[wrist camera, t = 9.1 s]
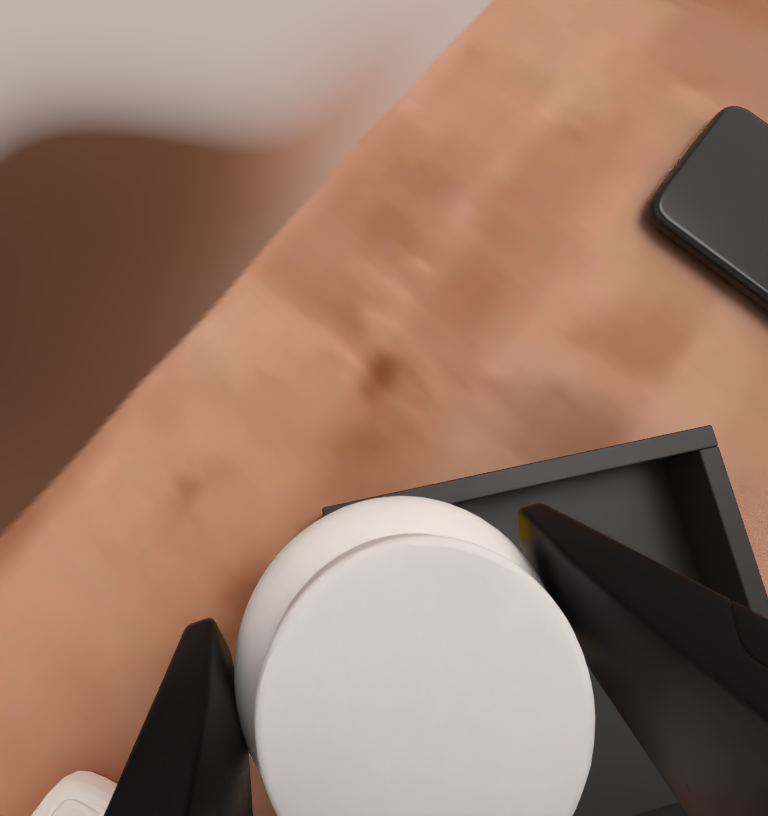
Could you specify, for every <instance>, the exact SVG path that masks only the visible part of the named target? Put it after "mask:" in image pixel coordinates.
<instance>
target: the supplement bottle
mask: <svg viewBox="0 0 768 816" xmlns="http://www.w3.org/2000/svg"><path fill="white" fill-rule="evenodd" d="M234 689H235V699H236V706H237V711H238V716H239V720H240V725H241V728H242V732H243V735H244V738H245V741H246V744H247V747H248V750H249V752H250V754H251V756H252V758H253V760H254V762H255V765H256V767H257V769H258V770H259V772H260V773H261V776H262V780H263V783H264V786H265V789H266V791H267V794H268V797H269V799H270V802H271V804H272V806H273V808H274V810H275V813H276V815H277V816H572V815H573V813H574V812H575V810H576V808H577V805H578V802H579V800H580V797H581V794H582V792H583V789H584V786H585V783H586V780H587V777H588V773H589V770H590V767H591V761H592V754H593V747H594V737H595V705H594V696H593V690H592V684H591V679H590V675H589V671H588V668H587V664H586V661H585V658H584V655H583V652H582V649H581V647H580V645H579V643H578V640H577V638H576V636H575V633H574V631H573V629H572V627H571V625H570V624H569V622H568V620H567V618H566V617H565V615H564V614H563V612H562V611H561V609H560V608H559V606H558V605H557V604H556V603H555V601H554V600H553V599H552V598H551V596H550V595H549V594H548V592H547V590H546V588H545V586H544V584H543V583H542V581H541V579H540V577H539V576H538V574H537V572H536V571H535V570H534V568H533V567H532V565H531V564H530V563H529V561H528V560H527V559H526V557H525V556H524V555H523V554H522V553H521V551H520V550H519V549H518V548H517V547H516V546H515V545H514V544H513V543H512V542H511V541H510V540H509V539H508V538H507V537H506V536H505V535H504V534H502V533H501V532H500V531H499V530H498V529H496V528H495V527H493V526H492V525H490V524H489V523H487V522H486V521H485V520H483V519H482V518H480V517H478V516H476V515H474V514H472V513H470V512H469V511H467V510H464V509H462V508H459V507H457V506H454V505H452V504H449V503H446V502H442V501H438V500H434V499H429V498H424V497H414V496H392V497H381V498H373V499H369V500H364V501H361V502H357V503H354V504H351V505H348V506H345V507H343V508H341V509H338V510H336V511H334V512H332V513H330V514H328V515H326V516H324V517H323V518H321V519H319V520H317V521H316V522H314V523H313V524H311V525H310V526H308V527H307V528H306V529H304V530H303V531H302V532H301V533H299V534H298V535H297V536H296V537H295V538H293V539H292V540H291V541H290V542H289V543H288V544H287V545H286V546H285V547H284V548H283V549H282V550H281V551H280V552H279V553H278V555H277V556H276V557H275V558H274V560H273V561H272V562H271V563H270V565H269V566H268V568H267V569H266V571H265V572H264V574H263V575H262V577H261V579H260V580H259V582H258V584H257V585H256V587H255V589H254V591H253V594H252V596H251V598H250V600H249V602H248V605H247V607H246V610H245V613H244V616H243V619H242V622H241V626H240V630H239V634H238V638H237V644H236V651H235V660H234Z"/></svg>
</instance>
